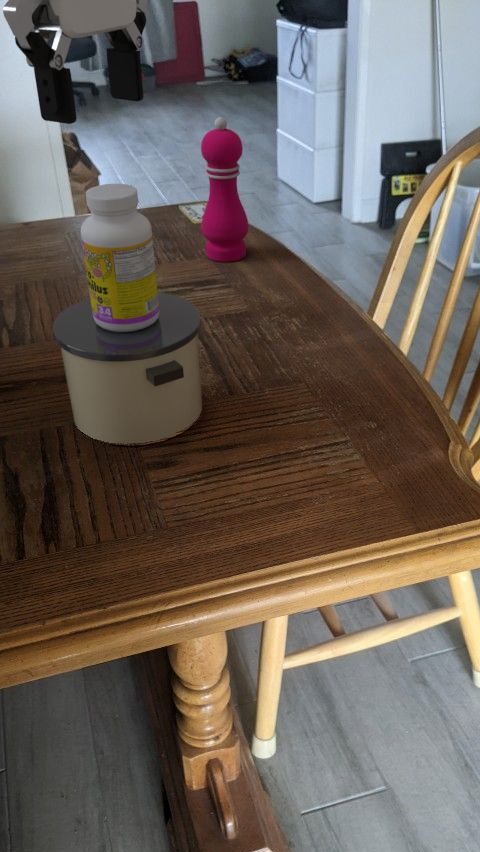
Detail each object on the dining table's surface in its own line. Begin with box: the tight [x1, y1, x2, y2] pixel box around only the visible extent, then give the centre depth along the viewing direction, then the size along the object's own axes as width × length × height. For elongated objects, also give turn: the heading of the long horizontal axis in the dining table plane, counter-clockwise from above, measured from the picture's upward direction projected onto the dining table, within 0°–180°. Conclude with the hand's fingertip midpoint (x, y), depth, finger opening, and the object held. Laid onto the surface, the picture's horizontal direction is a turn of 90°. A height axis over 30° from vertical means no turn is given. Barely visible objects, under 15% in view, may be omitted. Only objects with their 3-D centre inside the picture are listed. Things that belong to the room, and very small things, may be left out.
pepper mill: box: [200, 116, 249, 263], centre depth 116 cm, size 7×7×20 cm
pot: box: [52, 291, 203, 444], centre depth 82 cm, size 15×17×11 cm
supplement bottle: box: [80, 183, 159, 332], centre depth 75 cm, size 7×7×13 cm
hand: (95, 109), depth 67 cm, fingers open, 9 cm apart
